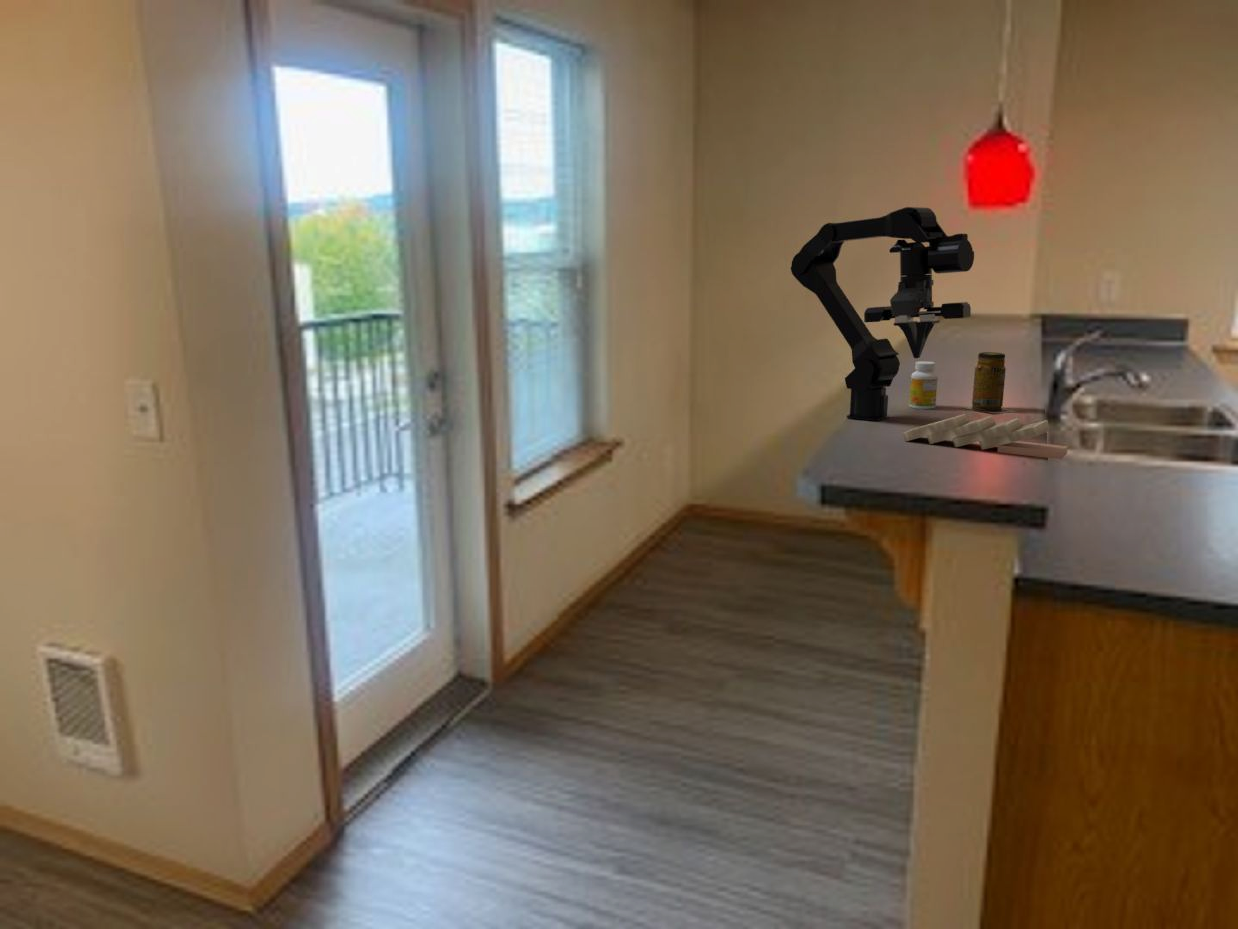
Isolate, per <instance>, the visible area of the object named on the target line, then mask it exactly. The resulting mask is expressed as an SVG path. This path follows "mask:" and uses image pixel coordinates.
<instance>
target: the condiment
mask: <svg viewBox="0 0 1238 929" xmlns="http://www.w3.org/2000/svg"><path fill="white" fill-rule="evenodd" d="M1005 358H1006V354H1005V353H1002V352H991V351H990V352H989V351H986V352H985V351H983V352H979V353H978V355H977V364H976V365H975V368H974V378H973V388H972V389H973V390H972V400H971V404H972V405H971V406H964V407H963V406H962V407H961V408H962V409H965V410H966V409H967V410H971V411H979V412H984V413H990V414H1008V413H1015V412H1017V410H1015V409H1011V408H1010V409H1009V408H1005V407H1004V408H1003V403H1004V393H1005V392H1004V391H1005V390H1004V389H1005V382H1006V369H1007V368H1006V366H1005V363H1006V362H1005Z"/></svg>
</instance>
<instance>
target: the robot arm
mask: <svg viewBox="0 0 1238 929" xmlns="http://www.w3.org/2000/svg"><path fill="white" fill-rule="evenodd" d="M885 237H886V238H892V239H893V238H894V239H897V241H896V242H895V244H893V246H892V247H891V248H889V253H890V254H894V253H895V254H896V253H899V268H900V274H899V276H900V277H899V278H900V280H899V281H898V284H897V292H895V293H894V294H893V296H892V297H891V298H890V300H889V304H890V306H889V305H887V306H872V307H867V308H866V309H865V311H864V313H863V319H862V318H861V317H860V316H861V315H859V313H858V312H857V311H856V309H855V308H854V306H853V304H852V303H851V301H850V300H849V299H848V297H847V296H846V293H845V292H844V290H843V289H842V288H841V286H840V285H839V284H838V282H837V269H836V267H835V264H834V263H835V262H836V260H837V259H838V258H839V256H840V252H841V250H842V247H843V246H842V245H843V244H844V243H845V242H848V241H859V240H867V239H877V238H885ZM968 238H969V235H968V233H955V234H952V235H947V234H946V232H945V231H944V230H943V228H942V226H941V225H940V223H939V222H938V221H937V216H936V214H935V212H934V211H933V210H932V209H931V208H929V207H917V206H916V207H913V206H912V207H911V206H910V207H909V206H907V207H903V208H899V209H897V210H894V211H891V212H889V213H887V214H885V215H882V216H880V217H872V218H866V219H859V220H851V221H850V220H849V221H843V222H827V223H824V224H823V226H821V228H820V229H819V230H818V232H817V233H816V234H815V235H814V236H813V237H811V239H809V240H808V241H807V242H806V243H805V244H804V245H803V246H802V247H801V248H800V250H799V251H798V252H797V253H796V254H795V255H794V256H793V258H792V261H791V266H790V271H791V272H790V273H791V274H792V275H793V277H794V278H795V279H796V280H797V281H798V282H799V284H801V286H803V287H804V288H806V290H808V291H810V292H812V293H813V294H814V295H816V297H817V298H818V301H819V302H820V303H821V304H822V306H823V308H824V309H825V311H826V312H827V314H828V315H829V317H830V318H831V320H832V321H833V323H834V324H835V327H836V328H837V329H838V330H839V332H840V333H841V335H842V337H843V338H844V341H846V343H847V344H848V346H849V347H850V350H851V362H852V364H853V366H854V369H853V370H852V371H851V372H849V373H848V374H847V375H846V376H845V378H844V382H845V386H846V389H849V390H850V403H849V404H850V406H849V414H847V415H846V418H847V419H854V418H855V420H865V421H874V422H875V421H876V422H877V421H880V420H882V419H884V418H886V417H887V416H888V406H889V405H888V404H889V395H888V394H887V387H891V385H892V382H893V380H894V378H895V377H896V376H897V375H898V373H899V370H900V365H901V363H900V359H899V357H898V356H899V352H898V351H896V350H895V349H894V347H893V346H892V344H891V342H890V340H889V339H888V337H887V338H880V339H877V338H876V337H875V336H873V335H872V333H871V332H870V330H869V328H868V326H867V325H866V324H865V323H878V322H879V323H880V322H882V321H891V320H892V319H894V322H893V326H895V327H897V326H898V327H899V328H900V330H901V331H902V333H903V334H904V337H906V340H907V343H908V345H909V349H910V350H911V354H912V357H913V358H914V359H919V358H921V356H922V353H923V350H924V348H925V345H926V342H927V340H928V338H929V335H930V334H931V332H932V330H933V328H934V326H935V324H940V320H939V317H943V319H946V320H947V319H949V320H952V319H964V318H965V319H966V318H970V317H971V316H972V315H971V313H972V312H971V310H972V308H971V305H970V303H968V302H967V301H964V302H963V301H962V302H949V303H948V302H946V303H942V304H941V306H934V302H935V301H933V286H934V279H933V272H934V273H935V274H950V273H953V274H954V273H963V272H964V273H965V272H966V273H967V272H968V271H970V270H971V268H972V267H973V264H974V260H975V251H974V249H973V247H972V244H971V242H970V240H969V239H968ZM907 239H911V240H912V241H913V242H907V241H906V240H907ZM925 243H928V246H925ZM921 309H923V311H921ZM924 310H925V311H924ZM914 318H918V319H919V321H918V320H914Z"/></svg>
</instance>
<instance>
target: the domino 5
mask: <svg viewBox="0 0 1238 929" xmlns="http://www.w3.org/2000/svg"><path fill="white" fill-rule="evenodd" d="M1068 447H1069V446H1067V445H1065V446H1064V445H1059V444H1048V443H1038V442H1029V441H1027V442H1026V441H1021V440H1020V441H1016V442H1012V443H1008V444H1004V445H1000V446H997V453H1002V454H1013V455H1019V456H1028V457H1038V458H1048V459H1054V460H1055V459H1056V460H1063V459H1064V458H1065V456H1066V455H1067V454H1068Z"/></svg>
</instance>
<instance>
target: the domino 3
mask: <svg viewBox="0 0 1238 929" xmlns="http://www.w3.org/2000/svg"><path fill="white" fill-rule="evenodd" d="M1022 426H1023V425H1022V422H1021V420H1020V418H1019V417H1017V418H1014V419H1010V420H1006V421H1003V422H999V423H996V424H995V425H993V426H991V427H989V428H987V429H984V430H982V431H979V432H975V433H971V434H967V435H963V436H959V437H956V438H952V442H953V445H954V447H955V448H958V447H962V446H966V445H971V444H975V443H979V441H982V440H986V439H990V438H994V437H998V436H1002V435H1006V434H1009V433H1012V432H1014V431H1015V430H1017V429H1019V428H1021V427H1022Z"/></svg>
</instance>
